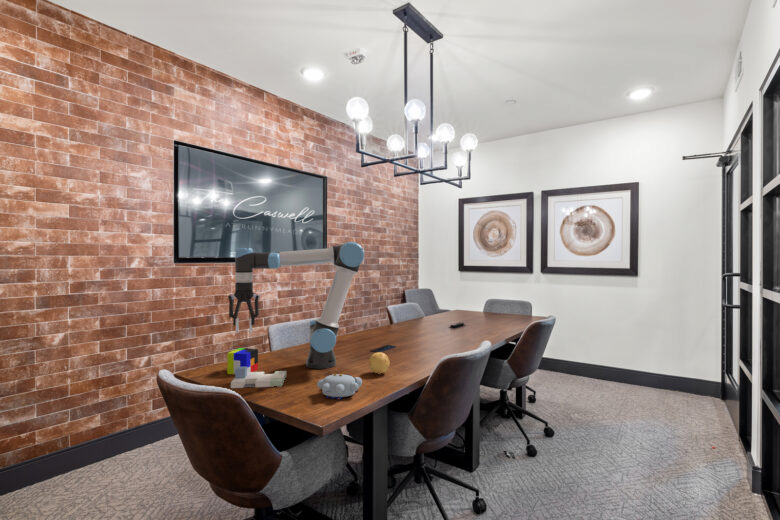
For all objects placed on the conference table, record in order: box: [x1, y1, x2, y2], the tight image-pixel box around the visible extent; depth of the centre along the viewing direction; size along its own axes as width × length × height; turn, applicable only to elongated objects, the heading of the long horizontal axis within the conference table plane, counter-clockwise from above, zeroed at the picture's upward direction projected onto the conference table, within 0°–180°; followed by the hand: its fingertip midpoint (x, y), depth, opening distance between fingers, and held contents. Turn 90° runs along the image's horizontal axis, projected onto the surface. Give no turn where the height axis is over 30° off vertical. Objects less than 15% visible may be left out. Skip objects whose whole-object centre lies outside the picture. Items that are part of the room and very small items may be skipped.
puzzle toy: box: [226, 347, 259, 375], centre depth 188 cm, size 10×10×10 cm
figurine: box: [316, 373, 363, 400], centre depth 158 cm, size 17×8×20 cm
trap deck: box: [230, 370, 288, 389], centre depth 172 cm, size 21×14×2 cm, turn 97°
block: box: [234, 367, 247, 379], centre depth 171 cm, size 4×4×4 cm
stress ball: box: [368, 351, 391, 375], centre depth 184 cm, size 10×10×10 cm
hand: (244, 332), depth 178 cm, fingers open, 5 cm apart
